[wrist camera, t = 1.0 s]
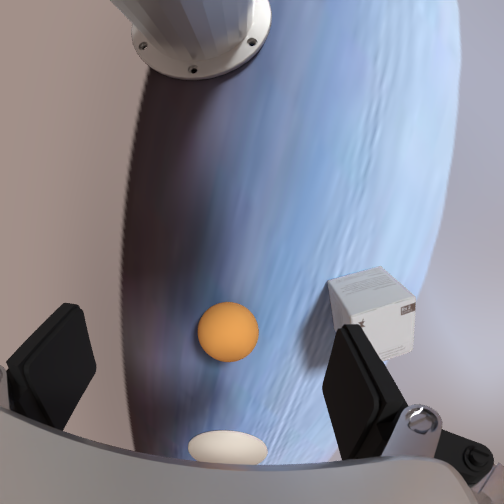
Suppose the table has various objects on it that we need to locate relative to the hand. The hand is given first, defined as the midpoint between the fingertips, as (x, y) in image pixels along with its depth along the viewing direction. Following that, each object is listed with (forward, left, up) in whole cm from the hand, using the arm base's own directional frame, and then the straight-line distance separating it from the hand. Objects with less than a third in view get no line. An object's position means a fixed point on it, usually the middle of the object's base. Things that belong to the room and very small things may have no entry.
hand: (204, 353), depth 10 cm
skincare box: (+6, +13, -18) cm, 23 cm away
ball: (+9, 0, -15) cm, 17 cm away
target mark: (+34, 0, -18) cm, 38 cm away
